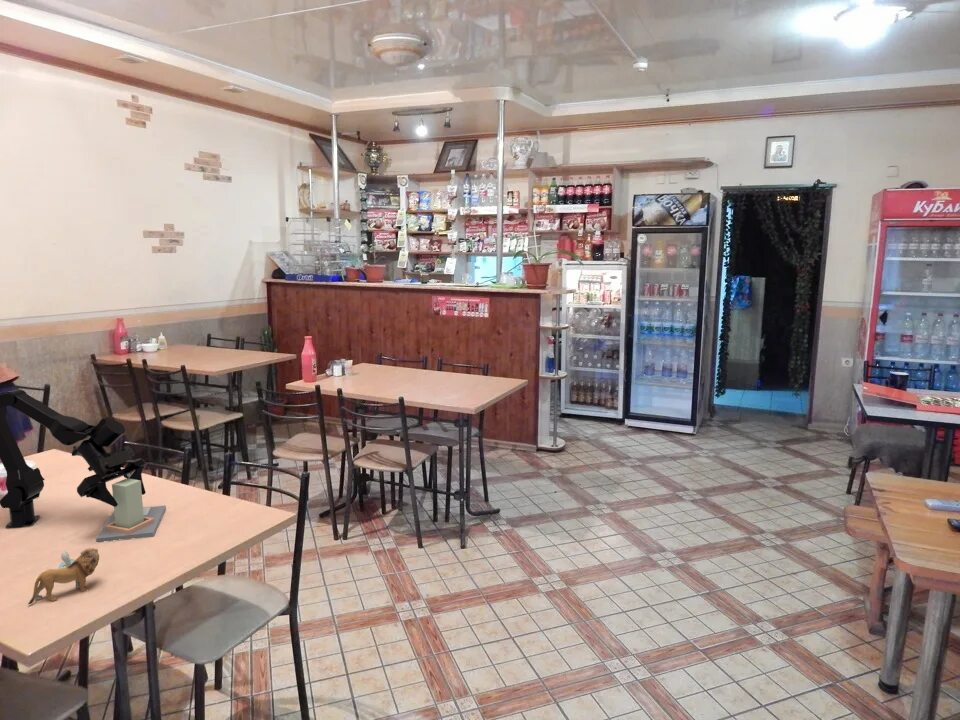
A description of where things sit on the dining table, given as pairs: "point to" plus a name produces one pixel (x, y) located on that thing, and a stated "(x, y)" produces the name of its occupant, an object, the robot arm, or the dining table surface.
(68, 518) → the dining table surface
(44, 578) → the lion figurine
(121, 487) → the pillar
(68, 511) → the dining table surface
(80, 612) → the dining table surface
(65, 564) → the pacifier
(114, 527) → the collar
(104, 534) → the baseplate
